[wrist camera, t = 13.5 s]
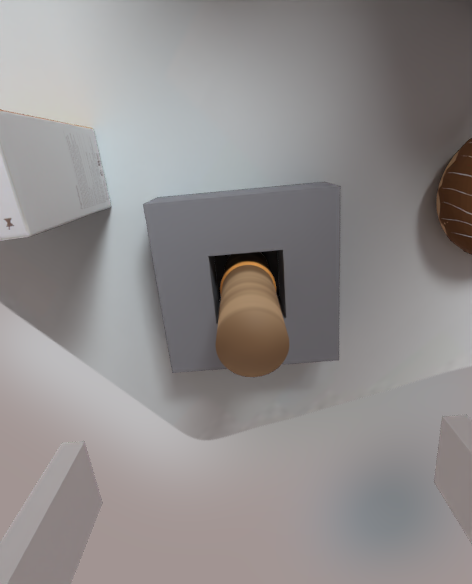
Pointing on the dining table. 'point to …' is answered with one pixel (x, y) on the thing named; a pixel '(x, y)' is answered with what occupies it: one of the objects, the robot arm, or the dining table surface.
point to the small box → (47, 175)
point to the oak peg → (250, 318)
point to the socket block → (245, 239)
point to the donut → (457, 198)
